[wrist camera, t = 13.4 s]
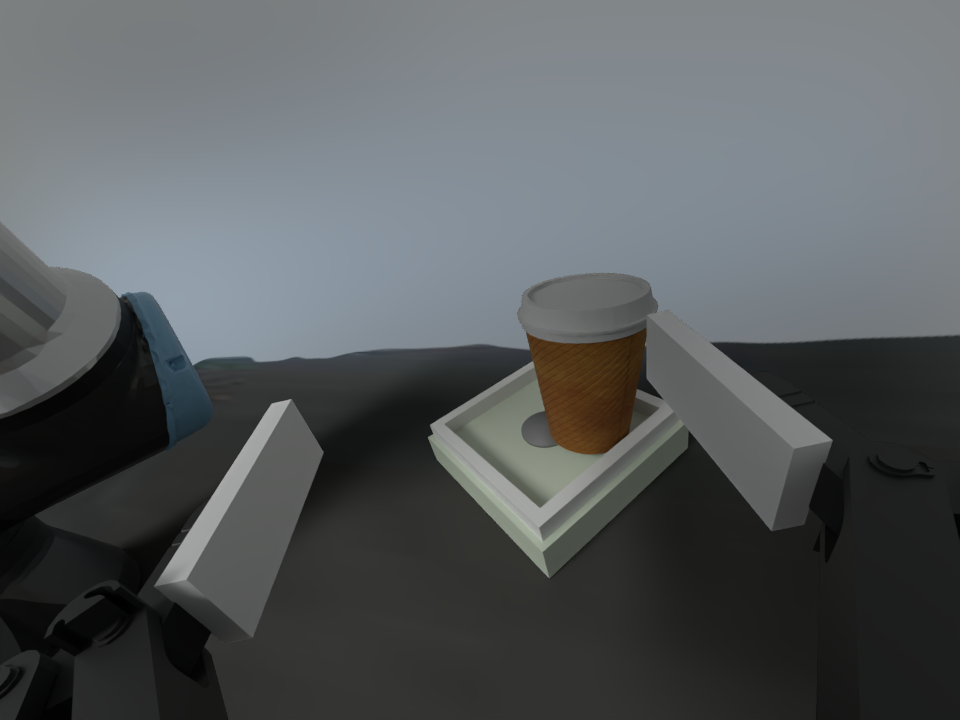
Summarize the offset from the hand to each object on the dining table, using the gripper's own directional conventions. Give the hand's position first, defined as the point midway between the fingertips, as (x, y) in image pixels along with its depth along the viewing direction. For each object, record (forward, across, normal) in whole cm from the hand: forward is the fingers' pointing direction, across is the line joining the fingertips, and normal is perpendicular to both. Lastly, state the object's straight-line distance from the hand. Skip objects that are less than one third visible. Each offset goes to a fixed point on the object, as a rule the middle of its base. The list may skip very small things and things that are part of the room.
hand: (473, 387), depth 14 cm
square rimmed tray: (+14, +4, -18) cm, 23 cm away
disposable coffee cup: (+12, +7, -15) cm, 21 cm away
